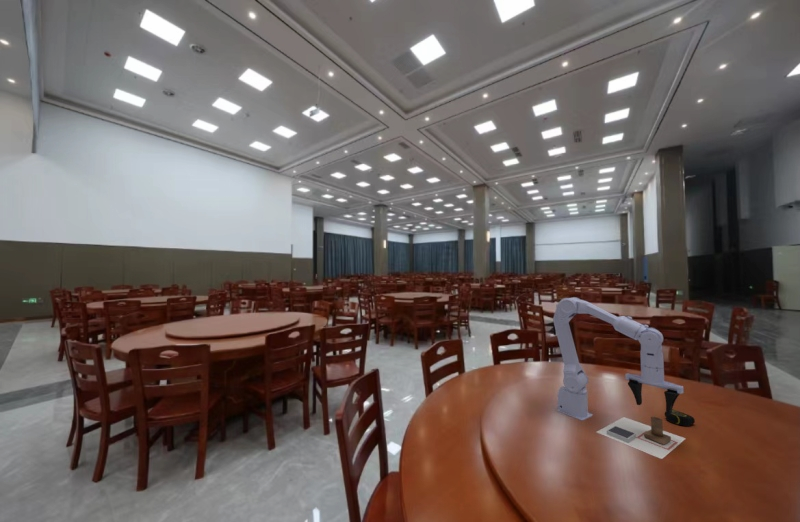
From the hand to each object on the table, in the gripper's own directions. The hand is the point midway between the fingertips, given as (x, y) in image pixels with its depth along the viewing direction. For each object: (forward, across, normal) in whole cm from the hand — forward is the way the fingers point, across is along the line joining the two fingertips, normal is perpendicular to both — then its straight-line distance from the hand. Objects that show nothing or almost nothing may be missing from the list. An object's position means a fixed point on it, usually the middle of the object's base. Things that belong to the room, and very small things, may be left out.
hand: (653, 408), depth 95 cm
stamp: (+9, -1, +1) cm, 9 cm away
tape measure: (+10, 0, -22) cm, 24 cm away
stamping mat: (+9, +3, +2) cm, 10 cm away
